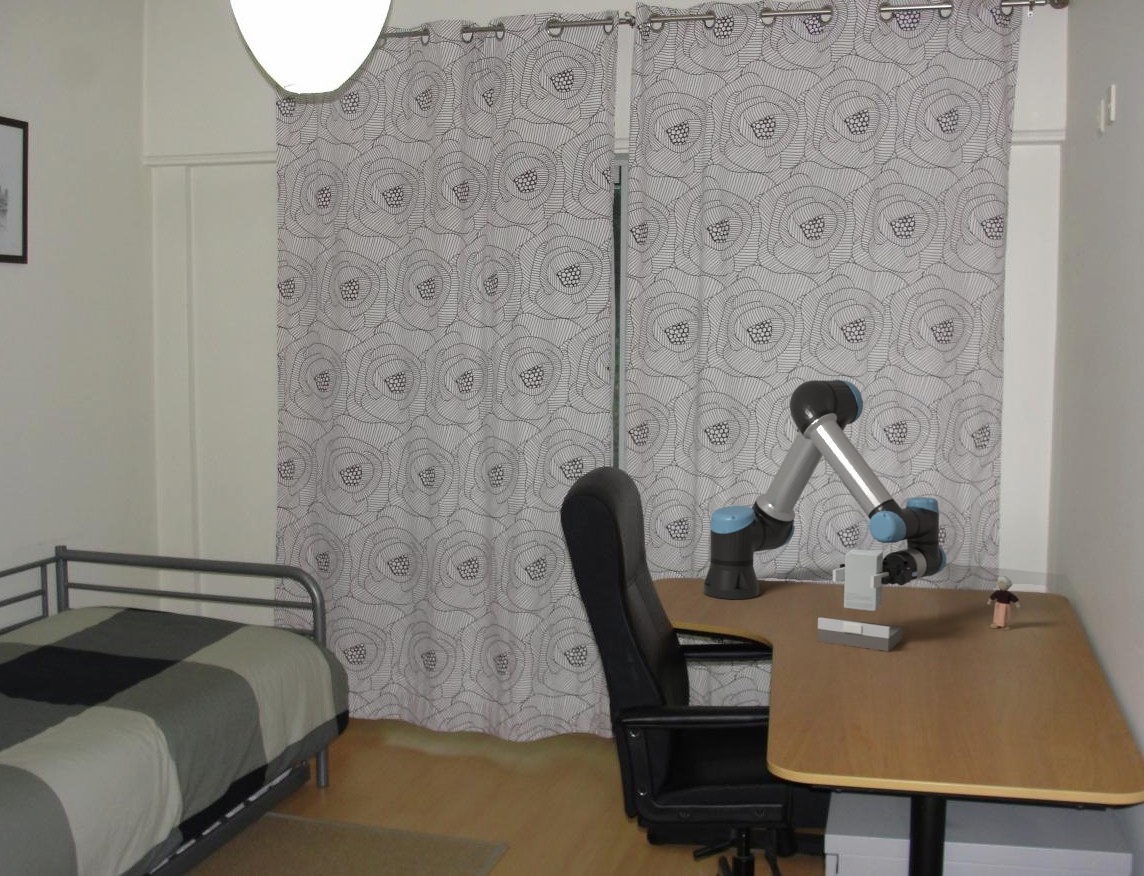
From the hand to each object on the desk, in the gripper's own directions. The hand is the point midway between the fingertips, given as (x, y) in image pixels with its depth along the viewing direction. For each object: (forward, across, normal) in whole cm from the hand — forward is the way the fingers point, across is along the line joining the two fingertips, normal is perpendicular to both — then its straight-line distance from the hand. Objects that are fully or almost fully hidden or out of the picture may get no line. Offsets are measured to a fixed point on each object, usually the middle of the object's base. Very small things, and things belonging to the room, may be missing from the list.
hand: (852, 579), depth 245 cm
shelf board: (-4, 0, -15) cm, 15 cm away
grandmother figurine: (-39, -17, -15) cm, 46 cm away
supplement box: (-5, 0, -7) cm, 9 cm away
